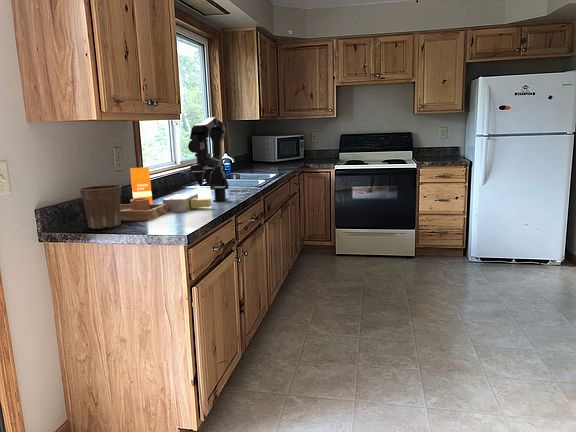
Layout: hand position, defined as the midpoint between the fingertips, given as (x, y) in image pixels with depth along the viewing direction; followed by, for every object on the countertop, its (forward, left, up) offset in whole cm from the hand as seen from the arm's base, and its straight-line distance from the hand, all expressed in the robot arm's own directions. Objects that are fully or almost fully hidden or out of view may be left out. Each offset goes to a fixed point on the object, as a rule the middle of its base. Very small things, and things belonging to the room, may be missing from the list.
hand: (204, 184), depth 213 cm
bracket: (+18, -29, -12) cm, 36 cm away
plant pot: (+38, -30, -12) cm, 50 cm away
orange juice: (-4, -35, -12) cm, 37 cm away
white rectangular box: (0, -13, -12) cm, 17 cm away
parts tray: (+18, -29, -12) cm, 36 cm away
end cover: (0, -6, -11) cm, 12 cm away
